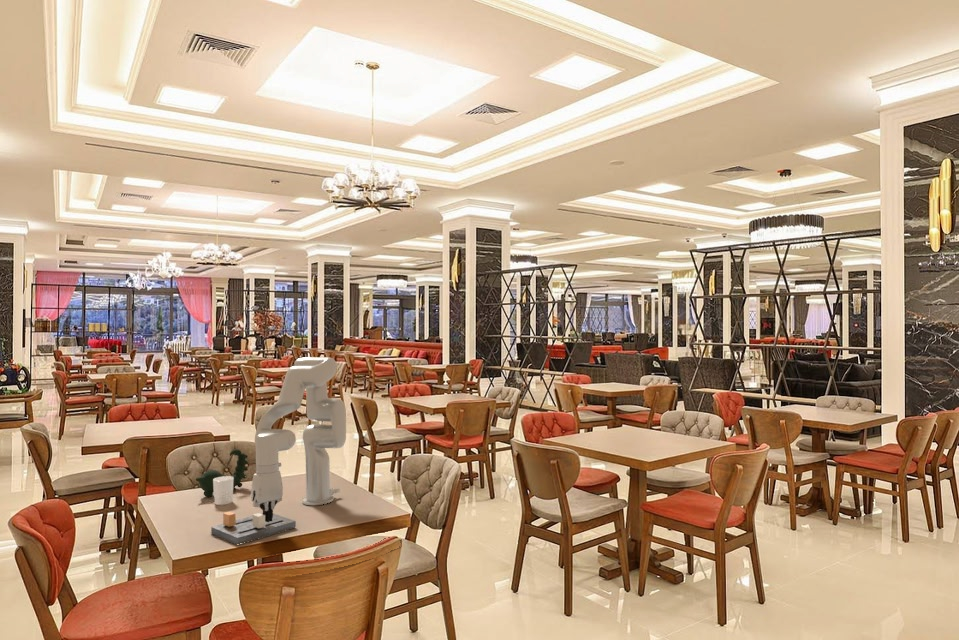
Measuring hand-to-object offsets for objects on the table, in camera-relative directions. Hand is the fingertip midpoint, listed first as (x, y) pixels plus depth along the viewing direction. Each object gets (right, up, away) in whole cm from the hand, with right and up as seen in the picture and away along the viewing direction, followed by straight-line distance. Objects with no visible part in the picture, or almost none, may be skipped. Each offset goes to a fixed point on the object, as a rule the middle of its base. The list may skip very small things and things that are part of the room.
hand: (267, 520), depth 218 cm
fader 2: (-2, -2, -3) cm, 4 cm away
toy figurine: (-38, -5, +53) cm, 65 cm away
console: (-5, -4, +1) cm, 7 cm away
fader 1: (-13, -2, 0) cm, 14 cm away
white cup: (-31, -5, +38) cm, 49 cm away
